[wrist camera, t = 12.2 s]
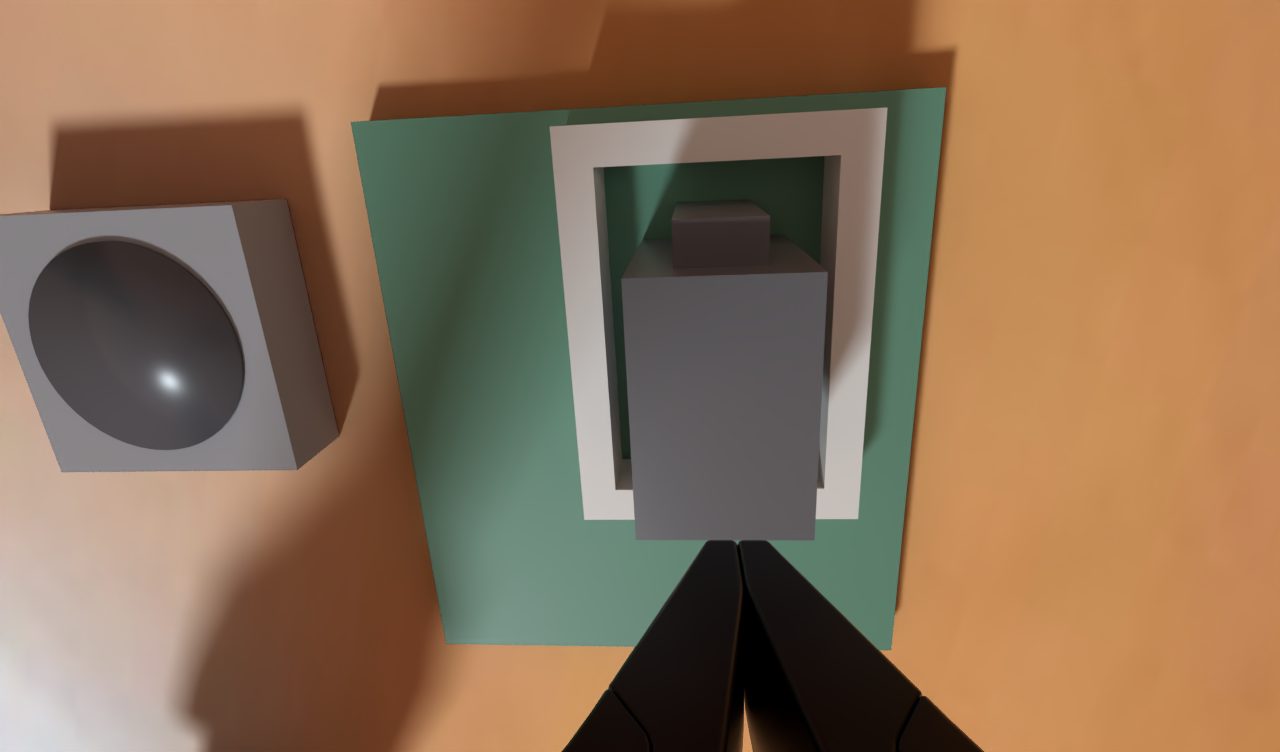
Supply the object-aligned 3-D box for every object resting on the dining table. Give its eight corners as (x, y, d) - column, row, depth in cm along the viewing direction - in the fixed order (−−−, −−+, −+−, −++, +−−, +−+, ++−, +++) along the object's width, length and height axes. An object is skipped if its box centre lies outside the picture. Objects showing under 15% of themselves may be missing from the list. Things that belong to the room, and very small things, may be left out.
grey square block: (126, 439, 23) (57, 474, 20) (48, 210, 20) (-42, 218, 18) (338, 436, 22) (294, 471, 20) (286, 198, 20) (227, 205, 17)
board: (455, 625, 25) (424, 686, 22) (367, 123, 19) (310, 118, 16) (882, 630, 23) (909, 696, 20) (932, 90, 17) (980, 78, 15)
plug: (651, 432, 20) (635, 539, 15) (641, 203, 18) (618, 227, 12) (779, 430, 20) (814, 540, 14) (785, 197, 18) (830, 218, 12)
